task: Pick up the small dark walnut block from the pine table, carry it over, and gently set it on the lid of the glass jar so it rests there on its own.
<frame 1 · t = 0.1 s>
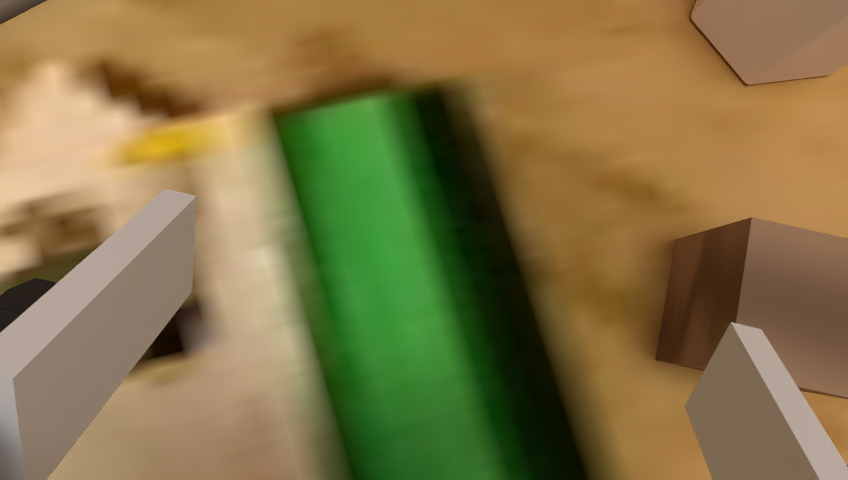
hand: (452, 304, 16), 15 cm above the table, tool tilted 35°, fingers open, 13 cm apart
walnut block: (724, 312, 32), on the table
jar: (769, 11, 34), on the table
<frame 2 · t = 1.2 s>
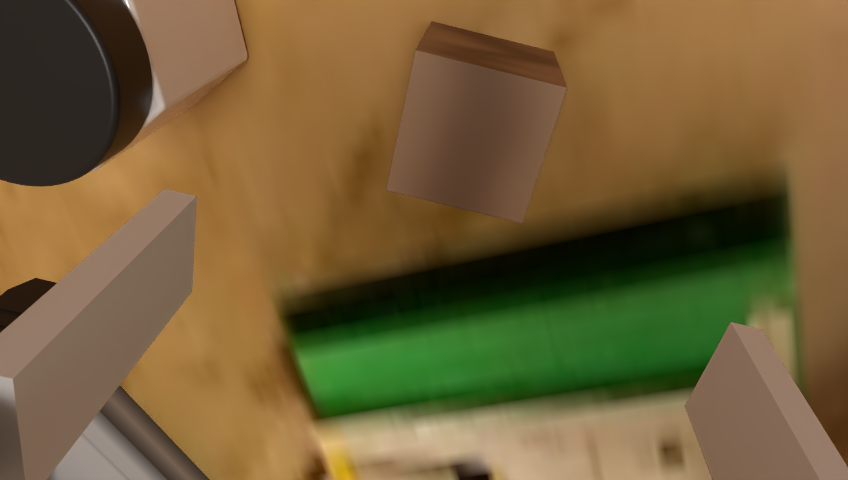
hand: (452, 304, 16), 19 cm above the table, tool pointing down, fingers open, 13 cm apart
walnut block: (476, 96, 32), on the table
jar: (166, 18, 32), on the table
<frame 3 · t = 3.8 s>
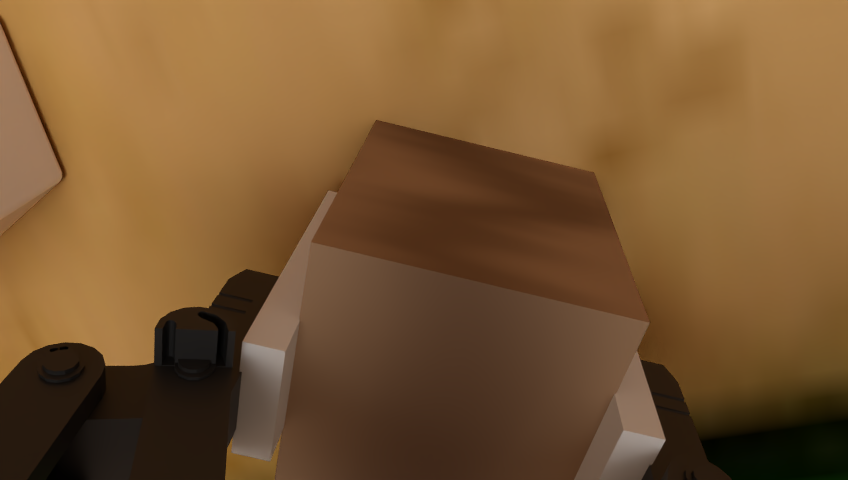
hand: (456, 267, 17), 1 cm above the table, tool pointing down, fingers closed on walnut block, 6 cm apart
walnut block: (458, 242, 19), on the table, touching gripper
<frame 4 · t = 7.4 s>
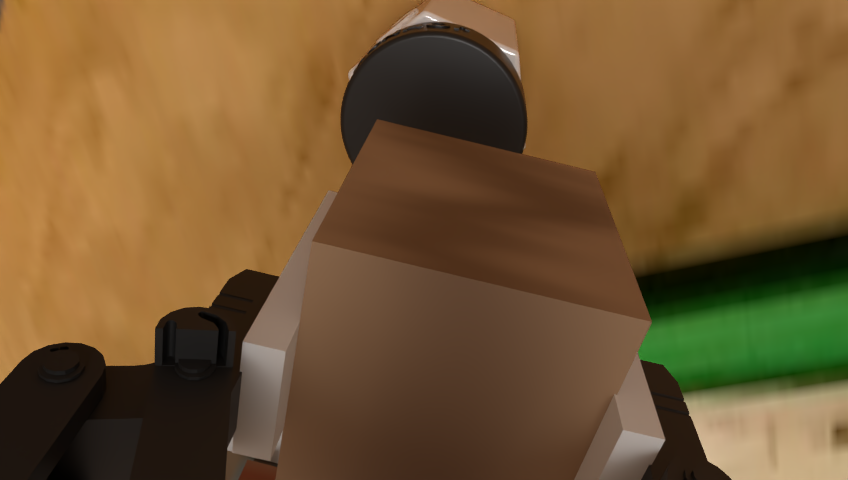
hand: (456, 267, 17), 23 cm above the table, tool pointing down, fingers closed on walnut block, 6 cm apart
walnut block: (459, 241, 19), point 22 cm above the table, touching gripper
jar: (451, 66, 38), on the table
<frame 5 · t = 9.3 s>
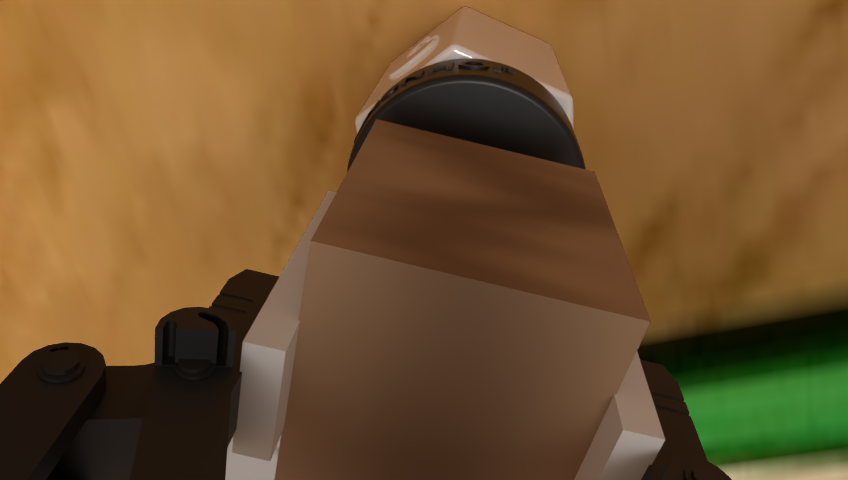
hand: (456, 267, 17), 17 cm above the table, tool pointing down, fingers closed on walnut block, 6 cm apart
walnut block: (458, 241, 19), point 15 cm above the table, touching gripper
jar: (474, 98, 32), on the table
when the fingers open (14 cm above the table, at t = 11.0 s): walnut block drops 1 cm, resting on jar.
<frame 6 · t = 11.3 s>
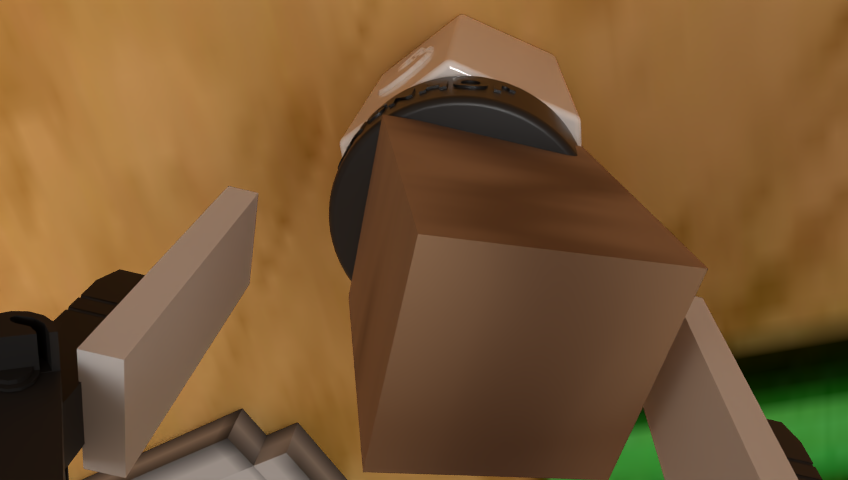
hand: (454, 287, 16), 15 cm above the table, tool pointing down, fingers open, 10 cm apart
walnut block: (461, 224, 20), point 12 cm above the table, tilted 14°, touching jar
jar: (471, 112, 30), on the table, touching walnut block
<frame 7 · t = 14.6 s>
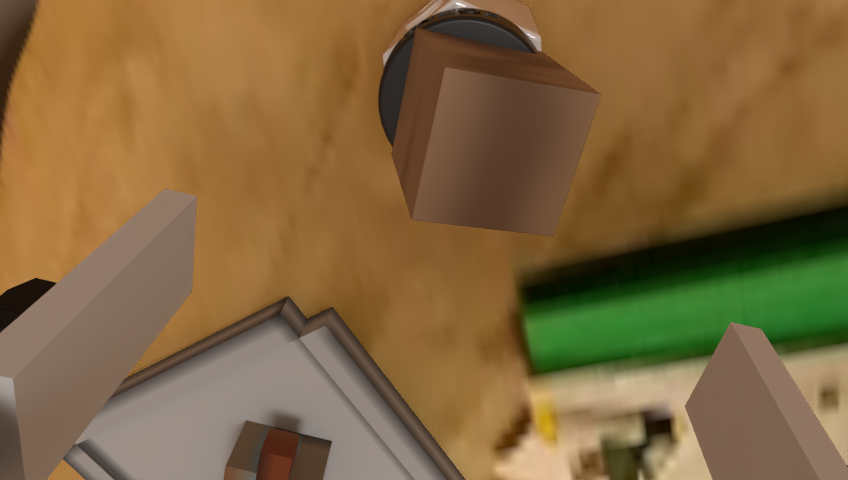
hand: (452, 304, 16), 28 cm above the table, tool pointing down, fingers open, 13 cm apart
grey tray: (281, 462, 61), on the table
walnut block: (464, 103, 30), point 12 cm above the table, tilted 14°, touching jar
jar: (469, 51, 41), on the table, touching walnut block
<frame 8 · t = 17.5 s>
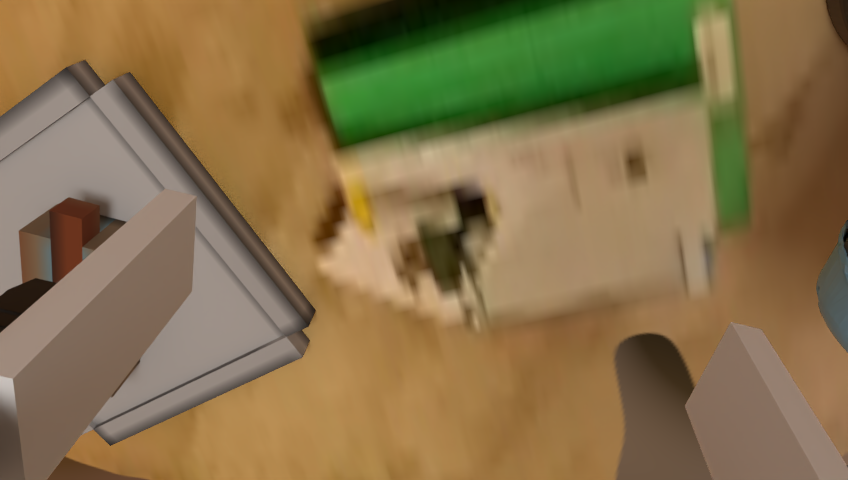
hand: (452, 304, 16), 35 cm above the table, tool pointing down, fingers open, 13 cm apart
grey tray: (111, 268, 60), on the table
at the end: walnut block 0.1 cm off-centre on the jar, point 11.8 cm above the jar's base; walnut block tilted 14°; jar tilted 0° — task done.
